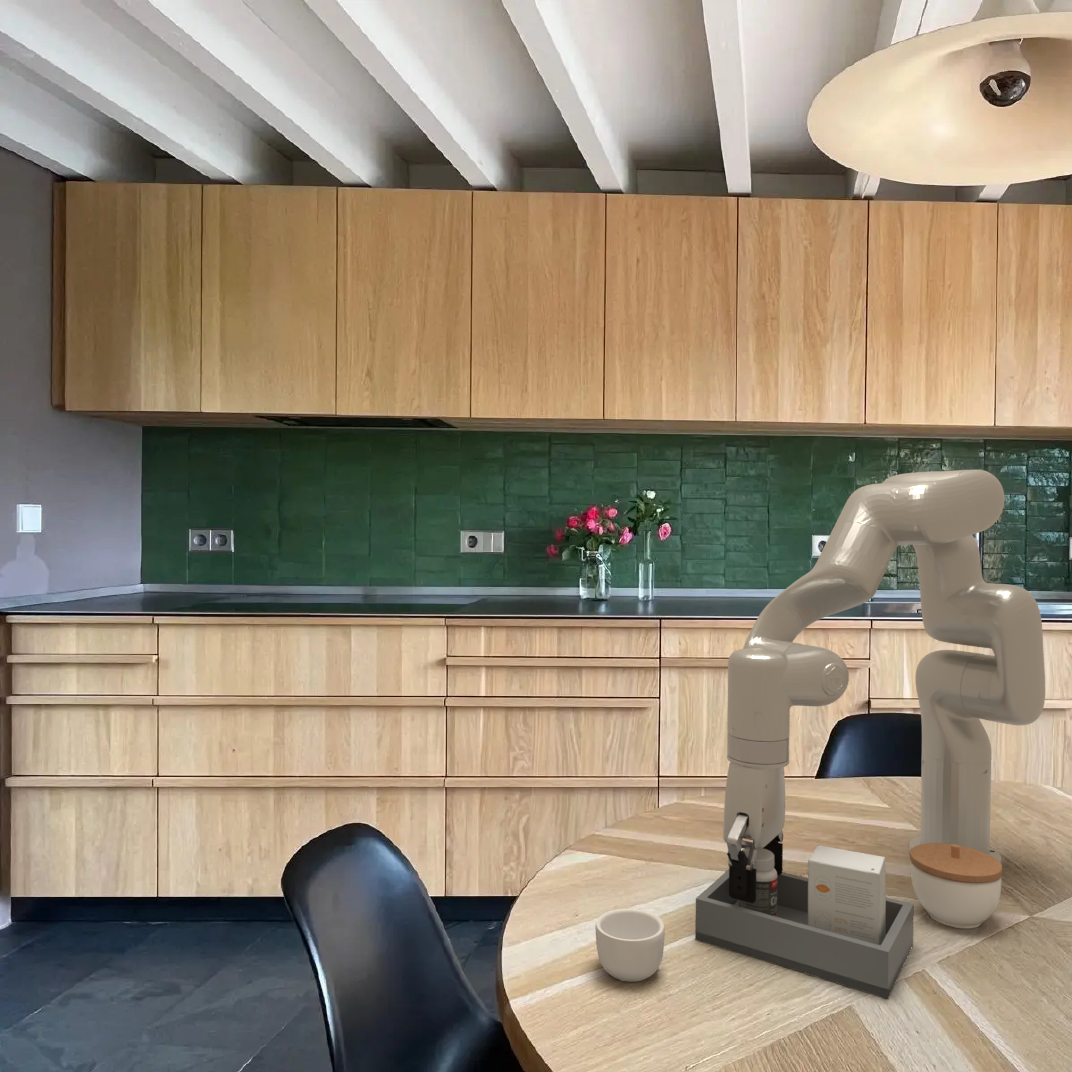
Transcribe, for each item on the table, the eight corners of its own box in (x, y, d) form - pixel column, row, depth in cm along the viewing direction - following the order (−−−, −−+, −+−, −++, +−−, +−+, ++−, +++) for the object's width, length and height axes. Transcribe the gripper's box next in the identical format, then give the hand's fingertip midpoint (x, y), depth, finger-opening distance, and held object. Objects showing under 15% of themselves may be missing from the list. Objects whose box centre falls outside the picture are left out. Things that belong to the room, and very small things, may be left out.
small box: (886, 945, 98) (887, 856, 98) (879, 967, 93) (881, 873, 93) (815, 928, 102) (816, 843, 102) (806, 948, 97) (807, 858, 97)
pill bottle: (778, 930, 101) (780, 862, 101) (739, 927, 102) (740, 859, 102) (774, 912, 106) (775, 847, 106) (736, 909, 107) (737, 844, 107)
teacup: (639, 999, 88) (639, 948, 88) (581, 973, 93) (581, 925, 93) (686, 962, 96) (687, 915, 96) (631, 940, 101) (631, 896, 101)
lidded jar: (901, 922, 106) (902, 849, 106) (916, 892, 115) (917, 824, 115) (997, 946, 100) (998, 869, 100) (1005, 913, 109) (1006, 841, 109)
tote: (737, 897, 113) (737, 861, 113) (913, 945, 100) (913, 904, 100) (695, 939, 101) (695, 898, 101) (887, 998, 89) (888, 952, 89)
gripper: (753, 730, 113) (751, 856, 113) (701, 759, 99) (700, 903, 99) (808, 739, 109) (807, 869, 109) (763, 770, 95) (762, 920, 95)
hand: (756, 885), depth 104 cm, fingers open, 9 cm apart
